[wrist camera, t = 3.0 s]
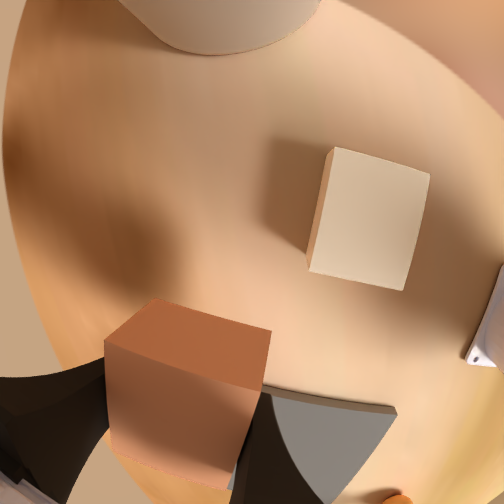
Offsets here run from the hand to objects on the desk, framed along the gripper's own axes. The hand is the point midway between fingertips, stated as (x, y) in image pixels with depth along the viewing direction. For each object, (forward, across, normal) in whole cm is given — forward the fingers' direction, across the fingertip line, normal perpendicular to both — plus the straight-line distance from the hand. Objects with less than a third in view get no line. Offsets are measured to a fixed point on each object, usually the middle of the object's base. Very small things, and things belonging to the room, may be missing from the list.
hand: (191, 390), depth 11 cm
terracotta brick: (+1, 0, 0) cm, 1 cm away
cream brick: (+9, -6, -8) cm, 13 cm away
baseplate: (+8, -7, +12) cm, 16 cm away
